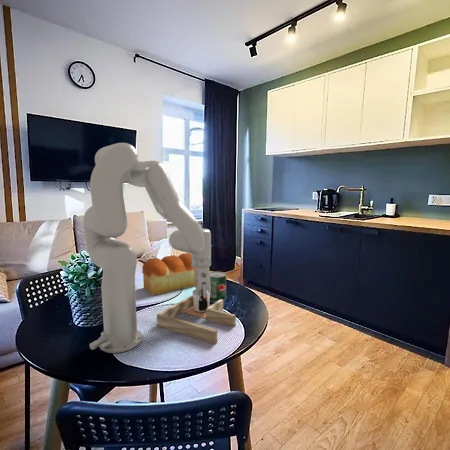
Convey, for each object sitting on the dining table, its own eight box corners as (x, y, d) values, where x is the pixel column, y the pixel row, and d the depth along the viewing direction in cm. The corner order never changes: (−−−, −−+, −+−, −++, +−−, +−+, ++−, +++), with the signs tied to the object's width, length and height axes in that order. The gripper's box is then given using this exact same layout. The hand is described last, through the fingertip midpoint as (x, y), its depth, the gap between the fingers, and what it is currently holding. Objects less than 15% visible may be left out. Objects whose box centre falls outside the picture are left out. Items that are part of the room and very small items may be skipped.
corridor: (215, 344, 86) (215, 331, 86) (157, 325, 98) (156, 314, 97) (247, 315, 106) (247, 305, 105) (195, 302, 118) (195, 293, 117)
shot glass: (209, 312, 106) (209, 294, 105) (191, 312, 107) (191, 294, 106) (210, 304, 113) (210, 288, 112) (193, 304, 113) (193, 288, 112)
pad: (205, 318, 103) (205, 317, 103) (183, 312, 108) (183, 311, 108) (219, 308, 112) (219, 307, 112) (198, 303, 117) (198, 302, 117)
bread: (188, 278, 150) (188, 250, 148) (201, 284, 140) (200, 255, 138) (142, 288, 135) (141, 257, 133) (152, 296, 125) (151, 263, 123)
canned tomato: (208, 295, 126) (208, 271, 124) (226, 295, 125) (226, 271, 124) (206, 302, 118) (206, 276, 117) (225, 302, 118) (225, 277, 116)
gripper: (216, 266, 100) (216, 314, 102) (206, 255, 117) (206, 297, 119) (195, 268, 98) (195, 317, 100) (188, 256, 115) (188, 299, 117)
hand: (201, 306), depth 110 cm, fingers closed on shot glass, 6 cm apart
